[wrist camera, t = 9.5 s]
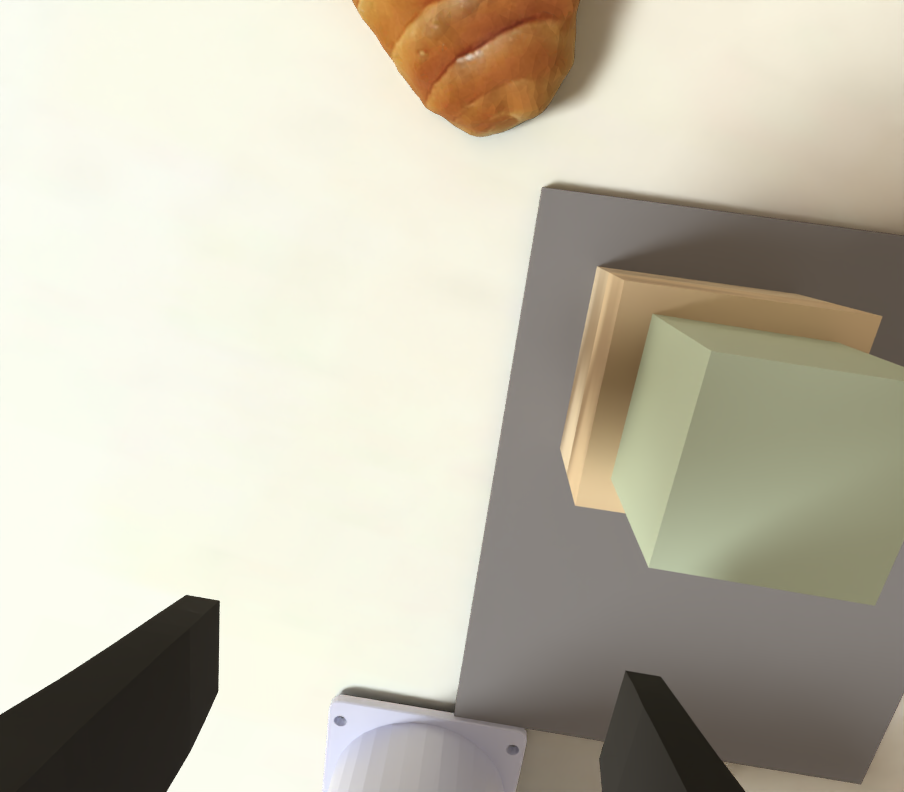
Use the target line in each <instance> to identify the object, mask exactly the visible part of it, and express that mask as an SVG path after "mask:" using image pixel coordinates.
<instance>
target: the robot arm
mask: <svg viewBox="0 0 904 792" xmlns="http://www.w3.org/2000/svg"><path fill="white" fill-rule="evenodd" d="M219 609H220V601H218V600H212V599H206V598H201V597H195V596H189V595H186V596H184V597H183V598H181V599H179V600H178V601H176V602H175V603H173V604H172V605H170V606H169V607H167V608H166V609H164V610H163V611H161V612H160V613H158V614H157V615H155V616H154V617H152V618H151V619H149V620H148V621H147V622H145V623H144V624H142V625H141V626H139V627H138V628H136V629H135V630H133V631H132V632H130V633H129V634H127V635H126V636H124V637H123V638H121V639H120V640H118V641H117V642H115V643H114V644H112V645H111V646H109V647H108V648H106V649H105V650H103V651H102V652H100V653H99V654H97V655H96V656H94V657H93V658H91V659H90V660H88V661H86V662H85V663H83V664H82V665H80V666H79V667H77V668H76V669H74V670H73V671H71V672H70V673H68V674H67V675H65V676H63V677H62V678H60V679H59V680H57V681H55V682H54V683H52V684H50V685H49V686H47V687H45V688H44V689H42V690H40V691H39V692H37V693H35V694H34V695H32V696H30V697H29V698H27V699H25V700H24V701H22V702H21V703H19V704H17V705H16V706H14V707H12V708H11V709H9V710H7V711H6V712H4V713H2V714H1V715H0V792H167V790H168V788H169V787H170V785H171V783H172V782H173V780H174V778H175V777H176V775H177V773H178V771H179V770H180V768H181V766H182V765H183V763H184V761H185V760H186V758H187V756H188V755H189V753H190V751H191V749H192V747H193V745H194V743H195V741H196V739H197V736H198V734H199V732H200V730H201V728H202V726H203V724H204V722H205V720H206V717H207V715H208V713H209V711H210V709H211V706H212V704H213V702H214V700H215V697H216V695H217V693H218V675H219ZM339 716H342V717H344V718H341V717H339ZM526 744H527V732H526V730H525V728H521V727H515V726H509V725H503V724H497V723H491V722H485V721H479V720H473V719H467V718H461V717H455V716H454V713H450V712H444V711H438V710H433V709H427V708H421V707H415V706H409V705H403V704H397V703H391V702H385V701H379V700H373V699H367V698H361V697H355V696H349V695H337V696H335V697H334V698H333V699H332V702H331V705H330V707H329V717H328V729H327V741H326V753H325V766H324V778H323V790H322V792H516V789H517V784H518V780H519V775H520V771H521V766H522V762H523V757H524V753H525V748H526ZM509 745H515V746H512V747H511V746H509ZM599 760H600V771H601V783H602V792H745V791H744V789H743V788H742V787H741V785H740V784H739V783H738V781H737V780H736V779H735V777H734V776H733V775H732V774H731V772H730V771H729V770H728V768H727V767H726V766H725V764H724V763H723V762H722V760H721V759H720V758H719V756H718V755H717V753H716V752H715V751H714V749H713V748H712V747H711V745H710V744H709V743H708V741H707V740H706V738H705V737H704V736H703V734H702V733H701V732H700V730H699V729H698V727H697V726H696V725H695V723H694V722H693V720H692V719H691V718H690V716H689V715H688V713H687V712H686V711H685V709H684V708H683V706H682V705H681V704H680V702H679V701H678V700H677V698H676V697H675V695H674V694H673V693H672V691H671V690H670V688H669V687H668V686H667V684H666V683H665V682H664V680H663V679H662V678H661V676H655V675H649V674H643V673H637V672H632V671H626V670H625V674H624V677H623V681H622V684H621V687H620V691H619V694H618V697H617V701H616V704H615V708H614V711H613V714H612V718H611V721H610V725H609V728H608V731H607V735H606V738H605V742H604V745H603V748H602V752H601V755H600V758H599Z"/></svg>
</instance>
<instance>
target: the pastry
mask: <svg viewBox="0 0 904 792" xmlns="http://www.w3.org/2000/svg"><path fill="white" fill-rule="evenodd" d="M352 1H353V3H354V5H355V7H356V8H357V10H358V12H359V14H360V15H361V17H362V19H363V20H364V21H365V22H366V24H367V25H368V26H369V27H370V28H371V30H372V31H373V32H374V34H375V35H376V36H377V38H378V40H379V41H380V43H381V45H382V47H383V48H384V50H385V51H386V52H387V54H388V55H389V56H390V58H391V59H392V60H393V62H394V63H395V65H396V67H397V69H398V71H399V73H400V74H401V75H402V76H403V78H404V79H405V80H406V81H407V83H408V84H409V85H410V87H411V88H412V90H413V91H414V92H415V93H416V95H417V96H418V97H419V98H420V99H421V101H422V103H423V104H424V106H425V107H426V108H427V109H429V110H430V111H432V112H434V113H436V114H438V115H440V116H442V117H444V118H445V119H446V120H448V121H449V122H450V123H452V124H453V125H454V126H456V127H457V128H459V129H461V130H463V131H465V132H466V133H468V134H470V135H473V136H477V137H484V136H489V135H492V134H497V133H501V132H504V131H507V130H509V129H511V128H513V127H515V126H517V125H518V124H520V123H522V122H524V121H526V120H529V119H532V118H534V117H536V116H537V115H539V114H541V113H542V112H543V111H544V110H545V109H546V107H547V106H548V105H549V104H550V102H551V101H552V99H553V97H554V95H555V94H556V92H557V90H558V89H559V87H560V85H561V83H562V81H563V80H564V78H565V77H566V76H567V74H568V72H569V71H570V69H571V67H572V65H573V63H574V53H575V38H576V14H577V10H578V6H579V2H580V0H352Z"/></svg>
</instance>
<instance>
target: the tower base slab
mask: <svg viewBox="0 0 904 792" xmlns="http://www.w3.org/2000/svg"><path fill="white" fill-rule="evenodd" d="M609 273H616V274H624V275H631V276H638V277H645V278H652V279H660V280H667V281H674V282H681V283H689V284H696V285H703V286H710V287H717V288H725V289H732V290H739V291H746V292H753V293H761V294H768V295H775V296H782V297H789V298H797V299H804V300H811V301H818V302H825V303H830V302H826V301H822V300H818V299H815V298H811V297H807V296H803V295H799V294H794V293H786V292H779V291H772V290H765V289H757V288H750V287H743V286H736V285H729V284H721V283H714V282H707V281H700V280H692V279H685V278H678V277H671V276H664V275H656V274H649V273H642V272H635V271H627V270H620V269H613V268H606V267H599V266H597V268H596V273H595V278H594V283H593V288H592V293H591V298H590V303H589V308H588V313H587V318H586V322H585V327H584V332H583V337H582V342H581V347H580V352H579V357H578V362H577V367H576V372H575V377H574V382H573V387H572V391H571V396H570V401H569V406H568V411H567V416H566V421H565V426H564V431H563V436H562V441H561V446H560V450H561V454H562V458H563V462H564V465H565V469H566V473H567V470H568V465H569V460H570V456H571V451H572V446H573V441H574V437H575V432H576V427H577V422H578V418H579V413H580V408H581V403H582V398H583V394H584V389H585V384H586V379H587V375H588V370H589V365H590V360H591V356H592V351H593V346H594V341H595V337H596V332H597V327H598V322H599V318H600V313H601V308H602V303H603V298H604V294H605V289H606V284H607V279H608V275H609ZM833 304H834V303H833Z"/></svg>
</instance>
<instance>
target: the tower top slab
mask: <svg viewBox="0 0 904 792" xmlns="http://www.w3.org/2000/svg"><path fill="white" fill-rule="evenodd" d="M652 314H658V315H664V316H671V317H677V318H683V319H690V320H696V321H703V322H709V323H716V324H722V325H729V326H735V327H742V328H748V329H754V330H761V331H767V332H774V333H780V334H787V335H793V336H800V337H806V338H812V339H819V340H825V341H832V342H838V343H841V344H844V345H846V346H849V347H852V348H854V349H857V350H860V351H862V352H865V353H868V354H869V352H870V350H871V347H872V344H873V341H874V339H875V336H876V333H877V330H878V328H879V325H880V322H881V319H882V317H883V316H880V315H876V314H872V313H868V312H864V311H860V310H857V309H853V308H849V307H845V306H841V305H837V304H833V303H825V302H818V301H811V300H804V299H797V298H789V297H782V296H775V295H768V294H761V293H753V292H746V291H739V290H732V289H725V288H717V287H710V286H703V285H696V284H689V283H681V282H674V281H667V280H660V279H652V278H645V277H638V276H631V275H624V274H616V273H609V275H608V279H607V284H606V289H605V294H604V298H603V303H602V308H601V313H600V318H599V322H598V327H597V332H596V337H595V341H594V346H593V351H592V356H591V360H590V365H589V370H588V375H587V379H586V384H585V389H584V394H583V398H582V403H581V408H580V413H579V418H578V422H577V427H576V432H575V437H574V441H573V446H572V451H571V456H570V460H569V465H568V470H567V477H568V481H569V485H570V488H571V492H572V496H573V500H574V504H575V506H581V507H587V508H594V509H600V510H607V511H613V512H620V513H625V511H624V509H623V506H622V504H621V502H620V499H619V497H618V495H617V492H616V490H615V488H614V485H613V483H612V481H611V476H612V472H613V468H614V464H615V461H616V457H617V453H618V449H619V445H620V441H621V437H622V433H623V429H624V425H625V421H626V417H627V413H628V409H629V405H630V401H631V397H632V393H633V389H634V385H635V381H636V377H637V373H638V369H639V365H640V362H641V358H642V354H643V350H644V346H645V342H646V338H647V334H648V330H649V326H650V322H651V318H652Z"/></svg>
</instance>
